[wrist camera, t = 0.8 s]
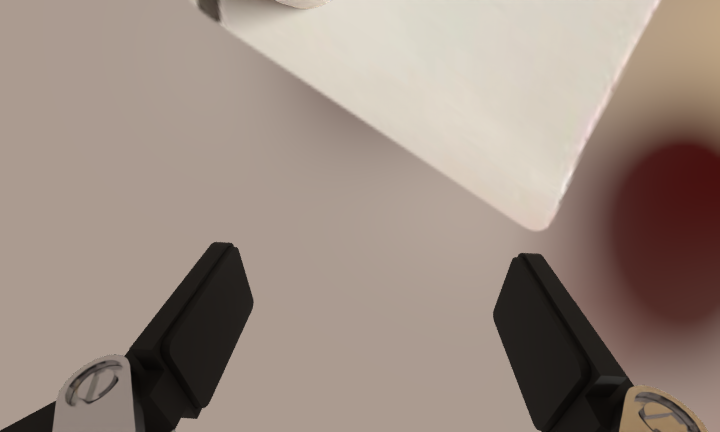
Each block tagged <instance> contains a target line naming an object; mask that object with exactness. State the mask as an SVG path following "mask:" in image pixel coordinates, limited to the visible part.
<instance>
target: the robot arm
mask: <svg viewBox="0 0 720 432" xmlns="http://www.w3.org/2000/svg"><path fill="white" fill-rule="evenodd" d="M252 308H253V297H252V294H251V290H250V287H249V283H248V280H247V277H246V274H245V270H244V267H243V263H242V260H241V256H240V253H239V250H238V248H237V247H234V246H233V244H232V243H223V242H214V243H212V244H211V245H210V247H209V248H208V249H207V250H206V252H205V253H204V254H203V255H202V257H201V258H200V259H199V261H198V262H197V263H196V264H195V266H194V267H193V268H192V269H191V271H190V272H189V273H188V275H187V276H186V277H185V278H184V280H183V281H182V283H181V284H180V285H179V286H178V287H177V289H176V290H175V291H174V292H173V294H172V295H171V296H170V298H169V299H168V300H167V301H166V303H165V304H164V305H163V306H162V308H161V309H160V310H159V312H158V313H157V314H156V315H155V317H154V318H153V319H152V321H151V322H150V323H149V324H148V326H147V327H146V328H145V329H144V331H143V332H142V333H141V335H140V336H139V337H138V338H137V340H136V341H135V342H134V343H133V345H132V346H131V347H130V350H129V351H128V352H127V354H126V355H125V356H123V355H116V354H114V355H107V356H104V357H101V358H98V359H96V360H93V361H92V362H90V363H88V364H86V365H84V366H83V367H82V368H80V369H79V370H78V371H76V372H75V373H74V374H73V375H72V376H71V377H70V378H69V379H68V380H67V381H66V382H65V384H64V385H63V387H62V388H61V390H60V391H59V394H58V397H57V400H56V401H55V402H53V403H51V404H49V405H47V406H45V407H43V408H42V409H40V410H38V411H36V412H34V413H32V414H30V415H28V416H27V417H25V418H23V419H21V420H19V421H17V422H15V423H14V424H12V425H10V426H8V427H6V428H4V429H3V430H1V431H0V432H176V431H175V428H176V426H177V424H178V422H179V420H180V418H193V419H194V418H195V419H197V418H198V416H199V414H200V411H201V409H202V408H205V407H206V406H207V405H208V404H209V402H210V400H211V398H212V396H213V394H214V392H215V389H216V387H217V385H218V383H219V380H220V378H221V376H222V374H223V372H224V370H225V367H226V365H227V363H228V361H229V359H230V357H231V354H232V352H233V350H234V348H235V346H236V343H237V341H238V339H239V337H240V335H241V333H242V331H243V328H244V326H245V324H246V322H247V320H248V317H249V315H250V313H251V311H252ZM493 318H494V322H495V325H496V327H497V330H498V333H499V335H500V338H501V340H502V343H503V346H504V348H505V351H506V354H507V356H508V359H509V361H510V364H511V367H512V369H513V372H514V374H515V377H516V379H517V382H518V385H519V388H520V390H521V393H522V395H523V398H524V400H525V403H526V406H527V409H528V411H529V414H530V416H531V419H532V421H533V424H534V426H535V427H536V429H537V430H540V431H542V432H708V430H707V429H706V427H705V425H704V424H703V422H702V421H701V420H700V419H699V418H698V417H697V416H696V415H695V413H694V412H693V411H691V410H690V409H689V408H688V407H687V406H686V405H684V404H683V403H682V402H681V401H679V400H678V399H676V398H674V397H673V396H671V395H670V394H668V393H666V392H663V391H661V390H659V389H657V388H654V387H650V386H645V385H636V386H634V385H633V384H632V382H631V381H630V380H629V378H628V377H627V376H626V374H625V372H624V371H623V370H622V368H621V367H620V365H619V364H618V362H617V361H616V360H615V358H614V357H613V355H612V354H611V352H610V351H609V350H608V348H607V347H606V345H605V344H604V342H603V341H602V340H601V338H600V337H599V335H598V334H597V332H596V331H595V330H594V328H593V327H592V325H591V324H590V323H589V321H588V320H587V318H586V317H585V315H584V314H583V313H582V311H581V310H580V308H579V307H578V306H577V304H576V303H575V301H574V300H573V299H572V297H571V296H570V294H569V293H568V292H567V290H566V289H565V287H564V286H563V284H562V283H561V282H560V280H559V279H558V277H557V276H556V274H555V273H554V272H553V270H552V269H551V267H550V266H549V265H548V263H547V262H546V260H545V259H544V257H543V256H542V255H541V254H531V253H530V254H529V253H520V254H519V255H518V257H515V258H513V259H512V262H511V264H510V267H509V270H508V273H507V275H506V278H505V281H504V284H503V286H502V289H501V292H500V295H499V297H498V300H497V303H496V305H495V308H494V312H493Z"/></svg>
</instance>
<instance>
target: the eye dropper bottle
mask: <svg viewBox="0 0 720 432" xmlns="http://www.w3.org/2000/svg"><path fill="white" fill-rule="evenodd" d="M275 1H277V2H280V3H282V4H285V5H289V6H292V7H295V8H300V9H309V8H315V7H319V6H322V5H324V4H326V3H328V2H330V1H331V0H275Z"/></svg>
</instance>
